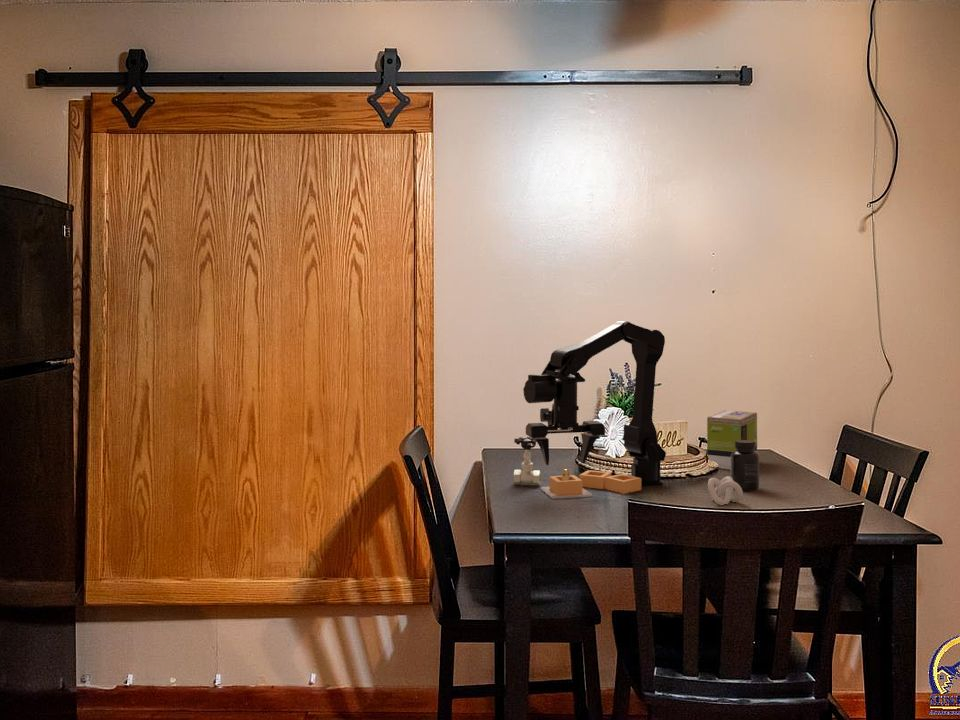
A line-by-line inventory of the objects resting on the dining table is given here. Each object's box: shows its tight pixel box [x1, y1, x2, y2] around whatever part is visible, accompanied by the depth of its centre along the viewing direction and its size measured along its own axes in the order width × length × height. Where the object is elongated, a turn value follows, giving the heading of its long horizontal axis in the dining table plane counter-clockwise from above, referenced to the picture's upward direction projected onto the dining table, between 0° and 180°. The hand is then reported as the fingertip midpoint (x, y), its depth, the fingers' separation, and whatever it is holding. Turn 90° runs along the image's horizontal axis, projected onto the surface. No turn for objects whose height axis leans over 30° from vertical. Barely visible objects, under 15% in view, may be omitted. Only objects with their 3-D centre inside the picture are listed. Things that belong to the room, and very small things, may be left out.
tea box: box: [706, 410, 758, 471], centre depth 230 cm, size 15×10×15 cm, turn 144°
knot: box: [707, 475, 744, 505], centre depth 188 cm, size 8×8×6 cm
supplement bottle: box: [730, 440, 760, 492], centre depth 201 cm, size 7×7×12 cm
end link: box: [548, 474, 583, 494], centre depth 198 cm, size 6×6×3 cm
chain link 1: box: [578, 469, 613, 490], centre depth 206 cm, size 6×6×3 cm
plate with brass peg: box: [539, 468, 593, 500], centre depth 198 cm, size 10×10×6 cm
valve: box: [513, 436, 542, 487], centre depth 206 cm, size 7×7×12 cm
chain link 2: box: [604, 473, 642, 495], centre depth 201 cm, size 6×6×3 cm
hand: (565, 464), depth 197 cm, fingers open, 9 cm apart
